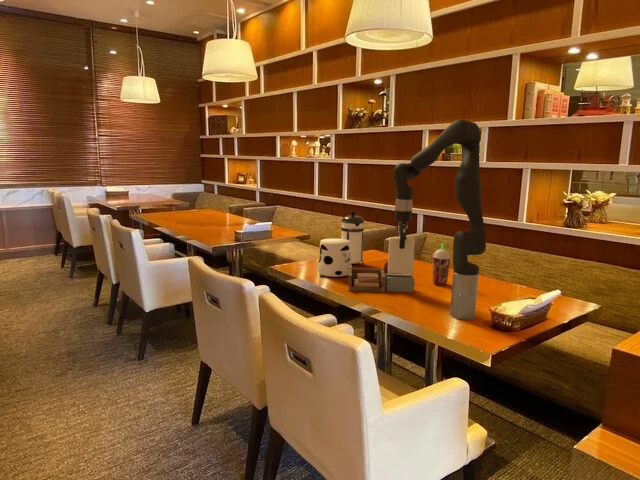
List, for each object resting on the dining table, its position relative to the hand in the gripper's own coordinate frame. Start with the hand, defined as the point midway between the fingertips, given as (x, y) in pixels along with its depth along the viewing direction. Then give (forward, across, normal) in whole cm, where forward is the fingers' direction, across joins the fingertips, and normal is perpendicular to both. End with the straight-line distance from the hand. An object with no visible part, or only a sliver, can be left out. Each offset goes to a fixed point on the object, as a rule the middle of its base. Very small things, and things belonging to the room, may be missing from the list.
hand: (401, 247), depth 202 cm
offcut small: (+16, -1, +15) cm, 21 cm away
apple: (+20, +18, +1) cm, 27 cm away
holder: (+20, 0, 0) cm, 20 cm away
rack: (+20, +1, +15) cm, 25 cm away
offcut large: (+19, -2, +15) cm, 24 cm away
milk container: (+20, +23, +30) cm, 43 cm away
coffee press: (+20, +51, +22) cm, 59 cm away
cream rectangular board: (+12, 0, 0) cm, 12 cm away
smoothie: (+20, +14, -21) cm, 32 cm away
